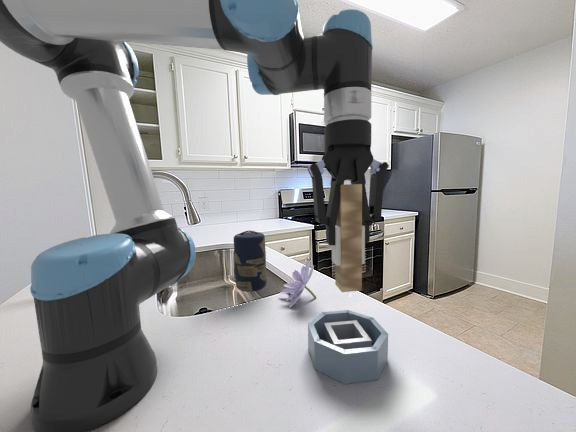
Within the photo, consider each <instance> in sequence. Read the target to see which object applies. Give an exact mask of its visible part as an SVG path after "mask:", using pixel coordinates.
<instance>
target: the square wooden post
mask: <svg viewBox="0 0 576 432" xmlns="http://www.w3.org/2000/svg"><path fill="white" fill-rule="evenodd" d="M336 225H337V226H339V227H341V265H340V266H336V265H335V264H334V271H335V274H334V275H335V277H334V278H335V279H334V280H335V283H334V284H335V286H336V287H337V288H338V289H339V290H340V292H341V293H347V292H348V293H349V292H361V291H362V290H363V280H362V279H363V264H362V184H351V183H350V184H349V183H348V184H344V185H340V204H339V210H338V216H337V222H336Z"/></svg>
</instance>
